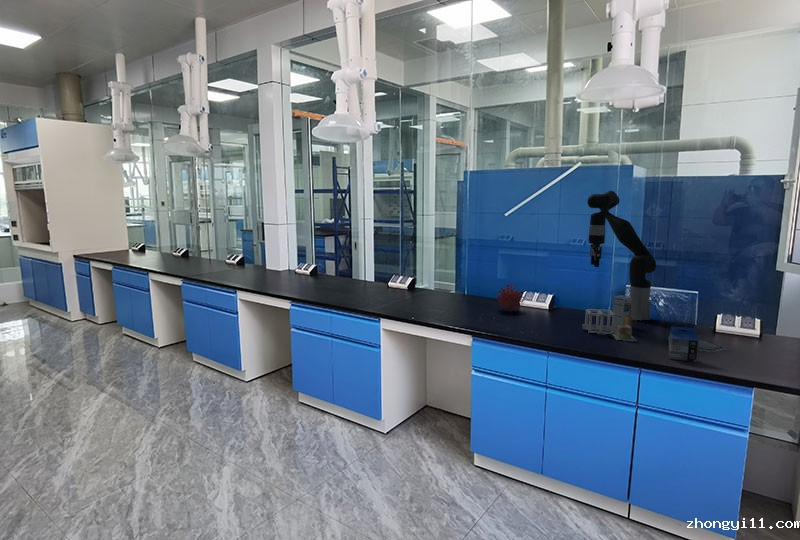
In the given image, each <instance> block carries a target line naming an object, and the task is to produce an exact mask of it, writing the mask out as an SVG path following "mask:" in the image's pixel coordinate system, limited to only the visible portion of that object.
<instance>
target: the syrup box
mask: <svg viewBox="0 0 800 540" xmlns="http://www.w3.org/2000/svg"><path fill="white" fill-rule="evenodd" d="M612 308H613V309H612V312H613V313H614V314H615V315H616V316H615V324H616V325H617V324H620V325H625V317H626V315H629V316H630V313H631V297H630V296H628V295H622V294H621V295H617V296H613V305H612Z"/></svg>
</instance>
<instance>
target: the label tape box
mask: <svg viewBox="0 0 800 540" xmlns="http://www.w3.org/2000/svg"><path fill="white" fill-rule="evenodd" d="M683 330H684V331H683ZM697 330H698V329H697V328H693V327H684V326H683V327H682V326H670V332H669V336H670V342H669V341H668V354H667V355H668V359H670V360H675V361H676V360H677V361H683V362H684V361H687V362H697V358H698V351H697V349H698V340H699V339H698V336H697Z"/></svg>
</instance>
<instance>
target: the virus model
mask: <svg viewBox="0 0 800 540" xmlns="http://www.w3.org/2000/svg"><path fill="white" fill-rule="evenodd" d="M505 287H506V288H505ZM517 288H518V287H516V285H512V284H506V285H504V286H501V287H500V290H497V292H498V293H499V294H498V295H497V296H496V300H497V301H498V302H497V305H499V307H500V308H501V309H503V308H505V309H504V312H510V313H511V312H513V311H514V312H515V311H518V310H519V308H520V306H521V305H523V304H522V303H524V301H525V298H524V296H523V292H522V291H520V288H518V289H517Z"/></svg>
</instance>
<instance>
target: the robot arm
mask: <svg viewBox="0 0 800 540" xmlns="http://www.w3.org/2000/svg"><path fill="white" fill-rule="evenodd" d="M586 203H587V206H588V207H589V208H591V209H599V211H598V212H594V213H591V214H590V217H589V219H590V220H589V229H588V239H587V240H588V241H587V242H588V243H589V244H590V251H589V256H590V265H591V266H592V265H593V266H594V268H599V267H600V260H601V259H602V249H603V247H602V246H601V245H604V244H605V241H606V220H607V223H608V224H609V226H610V228H611V229H612V232H613V233H614V235H615V237H616V239H617V240H618V241H619V243H620V244H621V245H623V246H625V248H627V250H628V251H629V250H630V251H631V253H632V254H633V255H634V256H633V257H632V258H631V260H630V262H629V274H628V275H629V278H628V279H629V282H630V283H629V284H630V286H629V297H631V313H630V316H631V317H632V321H637V320H640V321H639V322H642V321H641V320H649V321H650V316H651V303H652V302H651V301H650V299H651V285H652V282H651V281H649V280H648V279H646V274H651V273H654V272H655V270H656V269H657V262H656V259H655V257H654V256H653V255H652V254H651V252H650V251H649V250H648V248H647V247H646V246H645V244H644V243H643V241H642V240H641V239H640V237H639V236H638V233H637V231H636V230H635V229H634V227H633V226H632V224H631V222H629V220H626V219H624V218H621V217H618V216H616V215H614V214H613V213H611V212H610V210H611V209H614V208H615V207H616V206H618V205H619V203H620V198H619V196H618V195H617V193H616V192H615V191H614V190H608V191H606V192H604V193H602V194H601V193H592V194H591V195H589V196H588V198H587V202H586Z"/></svg>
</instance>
